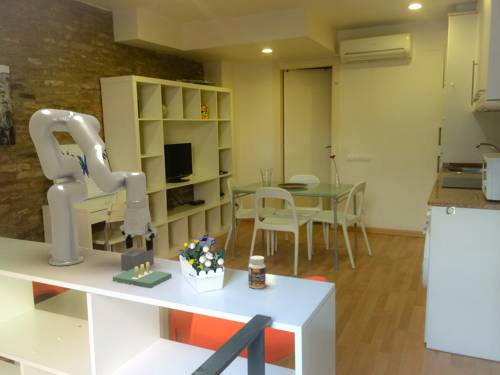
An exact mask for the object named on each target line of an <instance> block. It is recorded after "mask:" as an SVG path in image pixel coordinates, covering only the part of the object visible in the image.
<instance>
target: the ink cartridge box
mask: <svg viewBox="0 0 500 375" xmlns="http://www.w3.org/2000/svg"><path fill="white" fill-rule="evenodd" d="M209 235H210V233H207V234H204V235H203V236H202V237H201V238H198V239H197V240H199V242H200V243H201V244H204V243H205V242H207V241H209V240H211V246H210V251H215V252H216V241H217V239H216V238H213V237H209ZM192 242H193V241H191V242H190V243H192Z"/></svg>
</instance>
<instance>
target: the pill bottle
mask: <svg viewBox="0 0 500 375" xmlns="http://www.w3.org/2000/svg"><path fill="white" fill-rule="evenodd" d="M249 261H250V263H249V264H248V271H247V272H248V274H247V276H248V282H247V283H248V287H249V288H252V289H256V290H257V289H263V288H265V287H266V272H267V271H266V264H265V263H264V261H265V257H264V256H262V255H252V256H250V257H249Z"/></svg>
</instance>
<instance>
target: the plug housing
mask: <svg viewBox="0 0 500 375" xmlns="http://www.w3.org/2000/svg"><path fill="white" fill-rule="evenodd" d="M154 254H155V253H154V248H153V249H152V250H150V251H147V249H146V247H145V246H141V247H138V248H135V249H132V250H129V251H126V252H124V253H121V254H120V256H121V258H120V259H121V270H122V271H124V270H126V271H128V270H131V269H133V268H135V267H136V266H138V268H140V265H141V264H144V268H146V262H149V266H152V265H153V264H155V262H154V261H155V259H154ZM126 271H125V272H126Z"/></svg>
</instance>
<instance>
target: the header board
mask: <svg viewBox="0 0 500 375" xmlns="http://www.w3.org/2000/svg"><path fill="white" fill-rule="evenodd" d="M171 278H172V273H171V272H165V271H160V270H153V269H150V265H149V262H146V267H144V264H141V265H140V268H138V266H136V267H135V268H133V269H131V270H128V271H124V272H122V273H119V274H116V275H113V276H112V281H113V282H115V281H118V282H117V283H120V282H124V283H123V284H126V283H129V284H128V285H131V284H133V286H138V287H143V288H148V289H152V288H153V287H155V286H157V285H160V284H161V283H163V282H166V281H167V280H169V279H171Z"/></svg>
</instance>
